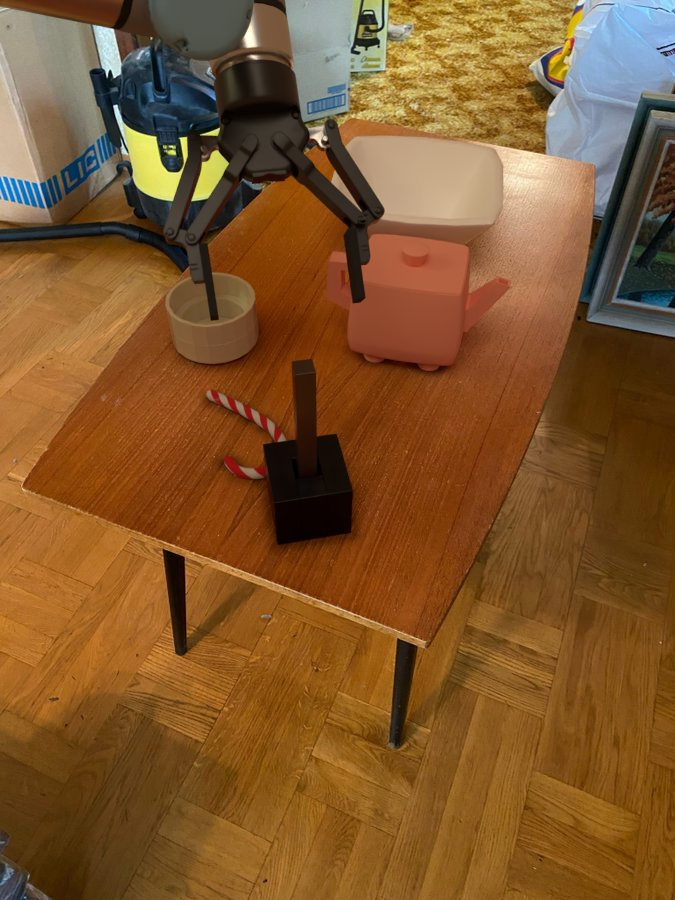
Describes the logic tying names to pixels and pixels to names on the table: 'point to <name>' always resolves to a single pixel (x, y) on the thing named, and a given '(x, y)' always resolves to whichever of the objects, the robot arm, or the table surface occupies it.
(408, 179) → the bowl
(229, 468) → the candy cane
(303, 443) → the stick
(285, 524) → the stick stand
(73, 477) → the table surface
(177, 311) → the mixing bowl
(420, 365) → the teapot
